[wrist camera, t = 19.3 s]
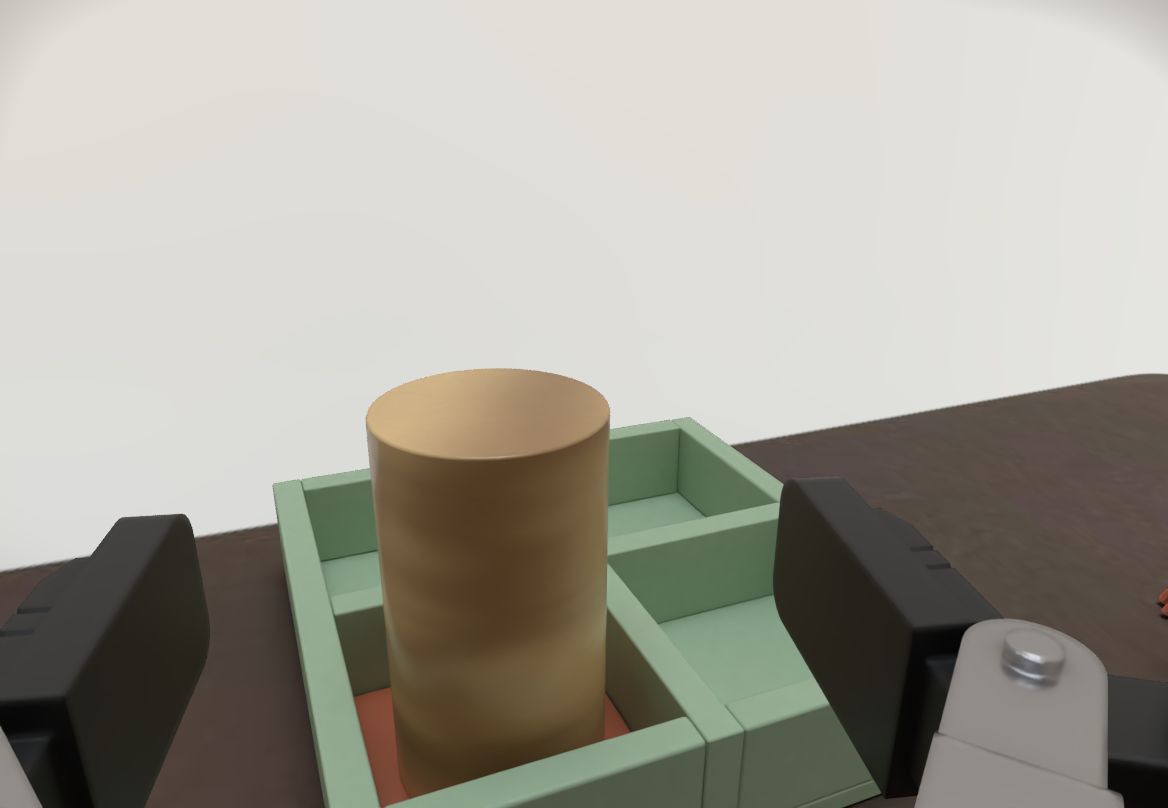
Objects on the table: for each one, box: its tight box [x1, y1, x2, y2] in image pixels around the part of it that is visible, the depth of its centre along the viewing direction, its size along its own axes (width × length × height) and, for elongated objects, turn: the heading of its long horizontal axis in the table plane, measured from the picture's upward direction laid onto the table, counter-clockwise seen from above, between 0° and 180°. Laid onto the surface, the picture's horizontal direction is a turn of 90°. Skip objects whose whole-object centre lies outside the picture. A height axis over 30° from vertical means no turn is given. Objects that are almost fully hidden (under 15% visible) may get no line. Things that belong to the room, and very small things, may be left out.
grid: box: [273, 417, 881, 808], centre depth 22 cm, size 14×14×3 cm
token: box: [366, 369, 610, 799], centre depth 17 cm, size 4×4×8 cm
